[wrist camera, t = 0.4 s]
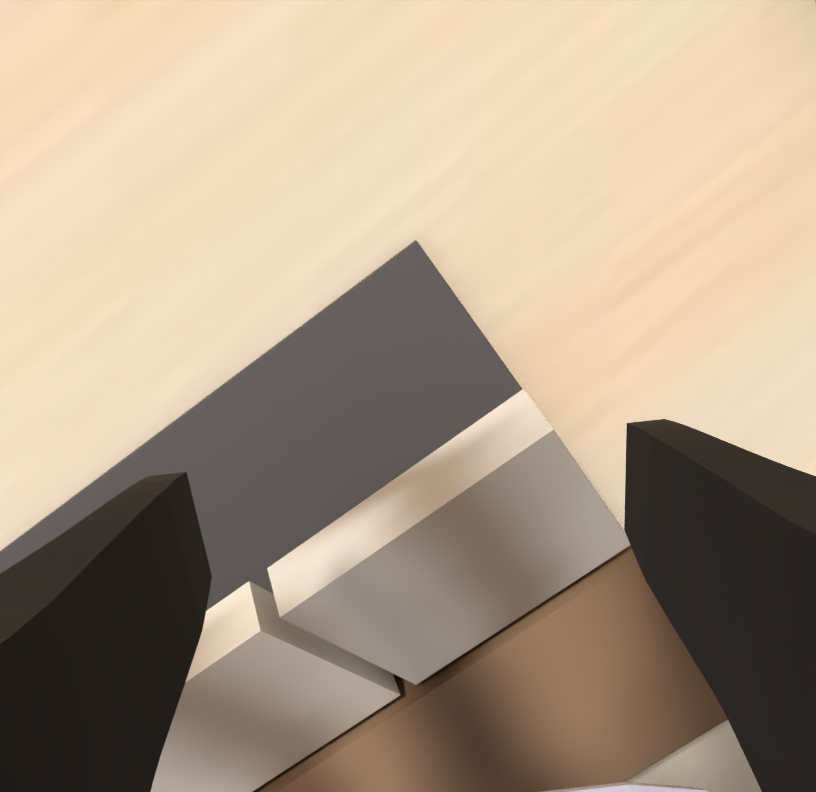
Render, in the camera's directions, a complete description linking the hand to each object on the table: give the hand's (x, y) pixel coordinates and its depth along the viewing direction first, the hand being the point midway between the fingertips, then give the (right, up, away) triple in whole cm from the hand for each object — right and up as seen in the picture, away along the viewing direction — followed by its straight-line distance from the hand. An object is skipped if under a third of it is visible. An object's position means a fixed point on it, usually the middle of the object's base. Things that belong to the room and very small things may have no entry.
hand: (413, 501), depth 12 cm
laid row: (+2, -10, +13) cm, 17 cm away
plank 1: (-6, -7, +10) cm, 14 cm away
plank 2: (+1, -2, +9) cm, 9 cm away
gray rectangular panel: (-3, -3, +11) cm, 12 cm away
